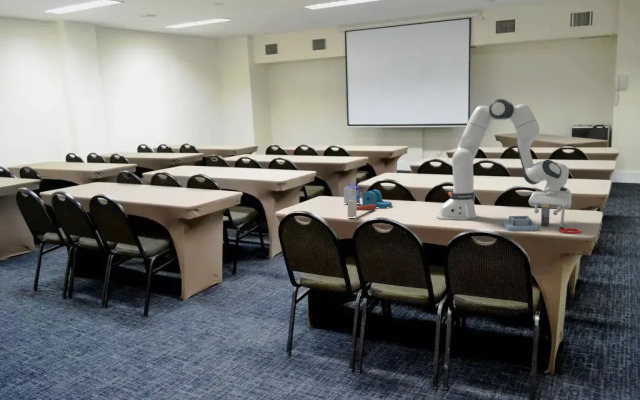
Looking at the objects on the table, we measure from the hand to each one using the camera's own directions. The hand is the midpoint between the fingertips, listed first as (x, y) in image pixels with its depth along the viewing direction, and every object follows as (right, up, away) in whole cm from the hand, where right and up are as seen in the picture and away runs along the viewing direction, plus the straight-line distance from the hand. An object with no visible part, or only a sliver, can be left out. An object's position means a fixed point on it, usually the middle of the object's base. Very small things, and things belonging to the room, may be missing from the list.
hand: (545, 213), depth 262 cm
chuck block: (-13, -7, 0) cm, 15 cm away
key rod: (0, -6, +1) cm, 6 cm away
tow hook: (+6, -9, -14) cm, 17 cm away
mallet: (-89, -2, +54) cm, 104 cm away
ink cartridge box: (-93, +4, +89) cm, 129 cm away
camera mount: (-76, +2, +76) cm, 108 cm away
